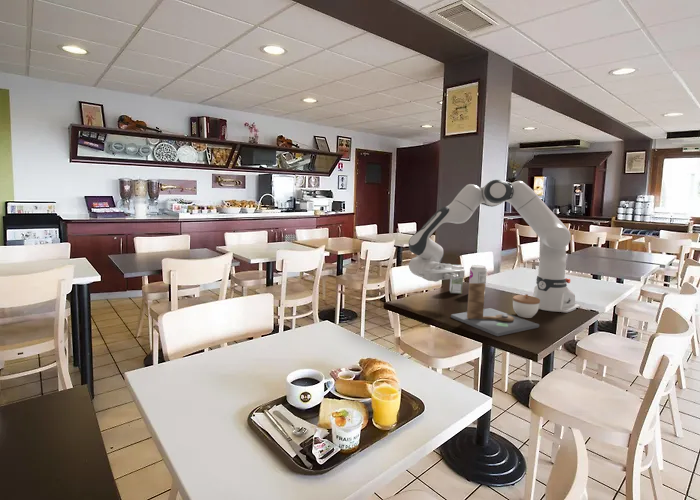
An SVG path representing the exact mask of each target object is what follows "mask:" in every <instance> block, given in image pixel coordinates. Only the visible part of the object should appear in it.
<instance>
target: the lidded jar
mask: <svg viewBox="0 0 700 500" xmlns="http://www.w3.org/2000/svg"><path fill="white" fill-rule="evenodd" d="M539 303H540V299H538V298H536V297H533V295H529V294H527V293H526V294H524V295H523V294H520V295H519V294H517V295H514V296H513V297H512V308H513V311H514V312H515V314H517V317H519V318H523V319H525V318H526V319H531V318H533V317H534V316H536V314H538V311H539V310H540V309H539Z"/></svg>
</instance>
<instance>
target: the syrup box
mask: <svg viewBox="0 0 700 500" xmlns="http://www.w3.org/2000/svg"><path fill="white" fill-rule="evenodd" d="M451 266H456V267H459V268H462V269H464V266H463V265H462V264H451ZM464 270H465V269H464ZM463 281H464V277H463V278H458V279H455V280H452V279H449V293H450V294H457V295H458V294H460V295H461V294H463Z"/></svg>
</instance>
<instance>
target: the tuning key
mask: <svg viewBox="0 0 700 500" xmlns="http://www.w3.org/2000/svg"><path fill="white" fill-rule="evenodd" d="M484 294H485V295H486V289H485V284H484V283H469V282H468V294H467V309H466V312H467V318H468V319H497V320H500V321H504V322H512V321H514V317H512V316H509V315H507V316H508V318H504V317H502V315H496V316H483V309H485V308H484V306H485V305H484V304H485V295H484Z"/></svg>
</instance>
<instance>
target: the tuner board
mask: <svg viewBox="0 0 700 500" xmlns="http://www.w3.org/2000/svg"><path fill="white" fill-rule="evenodd" d="M496 315H502V317H504V318H508V316H507V315H509V316H512V317H514V321H512V322H504V321H500V320H497V319H468V318H467V311H465V312H464V311H463V312H459V313H452V314H450V318H451V319H454V320H456V321H459V322H460V323H464V324H466V325H469V326H471V327H473V328H476V329H478V330H481V331H483V332H486V333H488V334H491V335H494V336H496V337H500V336H505V335H510V334H515V333H519V332H524V331H528V330H534V329H539V328H540V324H539V323H535V322H534V321H530V320H527V319H525V318H523V317H520V316H515V315H513V314H509V313H508V312H505V311H504V312H503V311H501V310H498V309H495V308H491V307H489V308H484V309H483V316H496Z"/></svg>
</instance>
